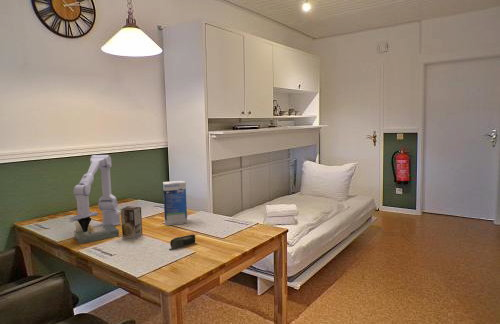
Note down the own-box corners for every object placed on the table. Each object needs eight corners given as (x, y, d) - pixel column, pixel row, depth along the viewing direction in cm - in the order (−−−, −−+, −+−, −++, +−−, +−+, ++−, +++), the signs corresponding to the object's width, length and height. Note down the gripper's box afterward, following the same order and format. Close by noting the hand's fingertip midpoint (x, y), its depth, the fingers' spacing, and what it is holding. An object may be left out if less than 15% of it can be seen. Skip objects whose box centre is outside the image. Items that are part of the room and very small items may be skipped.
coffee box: (143, 235, 191) (141, 206, 189) (135, 239, 185) (134, 209, 183) (129, 233, 194) (127, 205, 192) (121, 237, 188) (120, 208, 186)
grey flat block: (112, 229, 201) (112, 223, 201) (118, 236, 190) (118, 229, 190) (74, 236, 190) (74, 230, 189) (79, 244, 178) (78, 237, 178)
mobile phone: (193, 233, 179) (167, 239, 169) (196, 234, 177) (170, 241, 167) (193, 242, 180) (167, 249, 170) (196, 243, 178) (170, 250, 168)
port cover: (102, 227, 194) (102, 222, 193) (105, 231, 187) (105, 225, 187) (88, 230, 189) (87, 224, 189) (91, 234, 183) (90, 228, 182)
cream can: (83, 229, 192) (82, 216, 191) (84, 230, 189) (83, 218, 188) (75, 230, 190) (74, 218, 189) (76, 232, 186) (75, 219, 185)
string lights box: (185, 220, 218) (184, 180, 215) (187, 223, 211) (186, 182, 208) (164, 222, 214) (162, 181, 211) (165, 226, 207) (163, 183, 204)
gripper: (91, 203, 190) (93, 226, 192) (65, 208, 178) (67, 234, 180) (99, 204, 186) (100, 228, 188) (72, 210, 174) (75, 236, 176)
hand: (85, 231), depth 184 cm, fingers closed
